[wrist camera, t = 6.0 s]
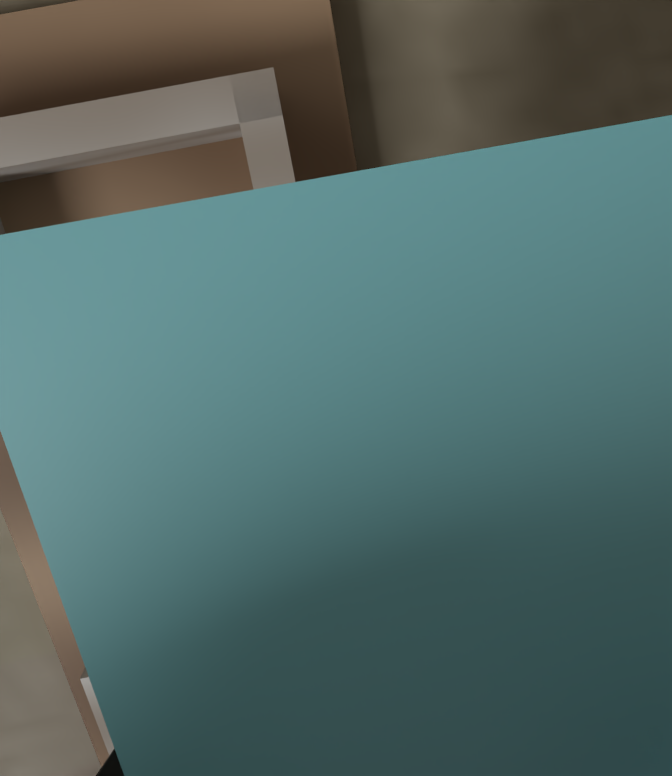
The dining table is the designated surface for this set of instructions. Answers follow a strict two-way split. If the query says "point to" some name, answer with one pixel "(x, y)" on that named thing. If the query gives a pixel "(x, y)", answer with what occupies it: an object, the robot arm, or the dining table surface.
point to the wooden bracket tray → (153, 150)
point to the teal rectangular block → (364, 463)
